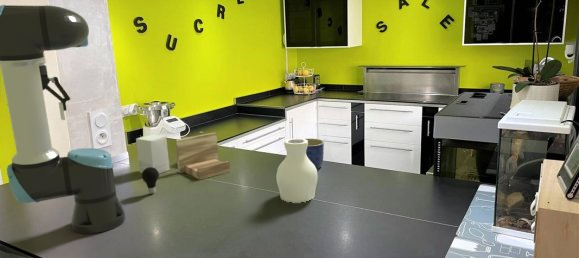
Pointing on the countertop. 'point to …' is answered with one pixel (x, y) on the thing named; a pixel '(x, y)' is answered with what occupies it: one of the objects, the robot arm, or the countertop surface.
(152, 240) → the countertop surface
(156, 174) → the light bulb
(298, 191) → the vase
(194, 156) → the cleat board
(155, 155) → the supplement box
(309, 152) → the planter
